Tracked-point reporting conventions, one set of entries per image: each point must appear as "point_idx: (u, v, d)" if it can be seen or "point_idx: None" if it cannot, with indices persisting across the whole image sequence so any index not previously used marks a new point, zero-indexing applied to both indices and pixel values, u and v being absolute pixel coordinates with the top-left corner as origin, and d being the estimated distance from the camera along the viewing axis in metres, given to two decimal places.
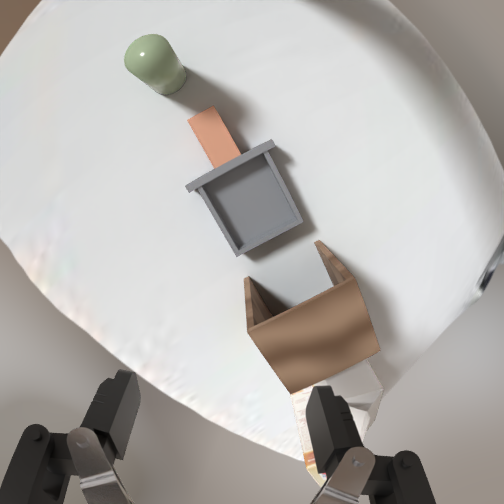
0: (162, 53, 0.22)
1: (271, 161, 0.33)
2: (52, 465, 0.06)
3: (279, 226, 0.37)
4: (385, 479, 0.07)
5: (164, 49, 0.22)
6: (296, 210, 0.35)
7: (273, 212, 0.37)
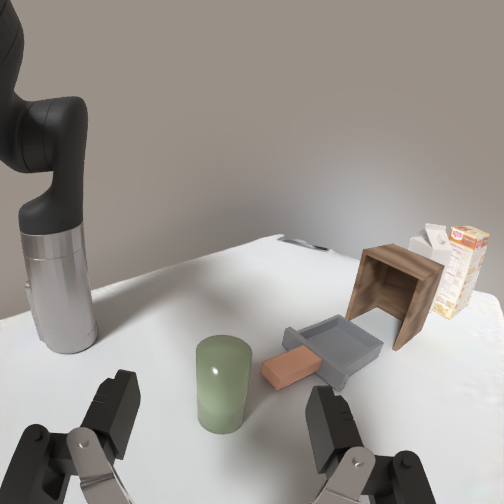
0: (226, 340, 0.26)
1: (303, 329, 0.41)
2: (52, 465, 0.06)
3: (347, 329, 0.43)
4: (385, 479, 0.07)
5: (221, 338, 0.26)
6: (333, 317, 0.45)
7: (339, 336, 0.43)
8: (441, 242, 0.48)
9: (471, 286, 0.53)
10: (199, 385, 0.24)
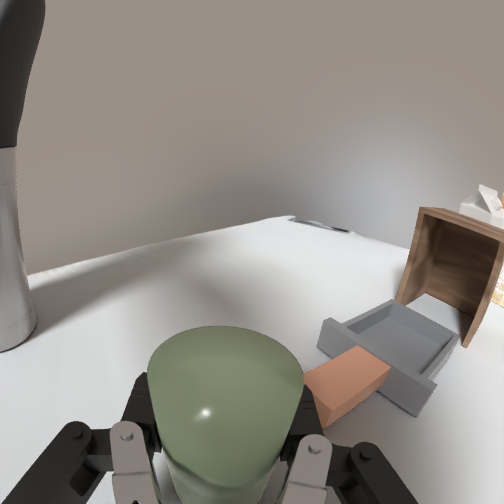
0: (229, 338, 0.10)
1: (350, 321, 0.25)
2: (87, 463, 0.07)
3: (406, 320, 0.28)
4: (343, 470, 0.07)
5: (217, 335, 0.10)
6: (385, 303, 0.29)
7: (396, 330, 0.27)
8: (498, 208, 0.32)
9: None
10: (164, 448, 0.08)
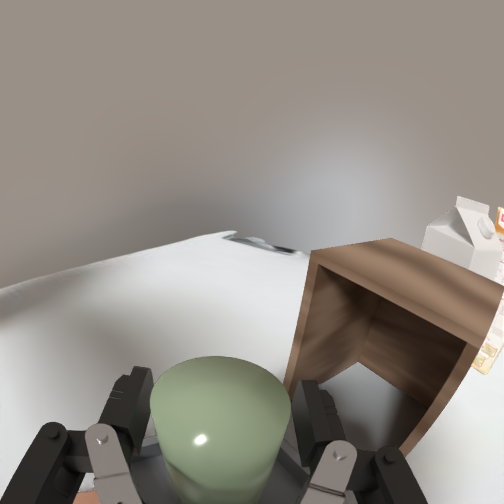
0: (224, 368, 0.11)
1: None
2: (67, 463, 0.06)
3: None
4: (367, 474, 0.07)
5: (212, 365, 0.11)
6: None
7: None
8: (487, 235, 0.21)
9: None
10: (167, 466, 0.09)
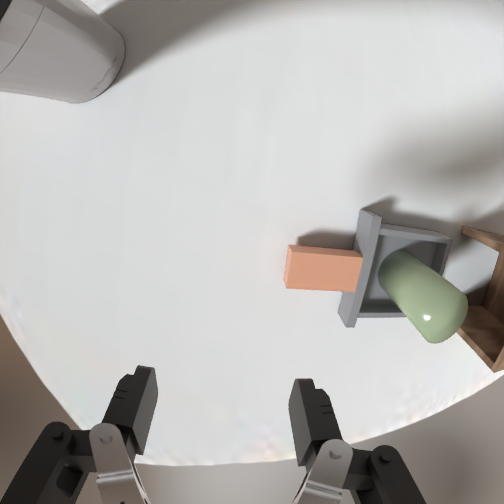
0: (460, 303, 0.19)
1: (390, 232, 0.25)
2: (70, 463, 0.06)
3: (436, 260, 0.28)
4: (363, 473, 0.07)
5: (459, 299, 0.18)
6: (441, 239, 0.25)
7: (421, 256, 0.28)
8: None
9: None
10: (406, 299, 0.22)
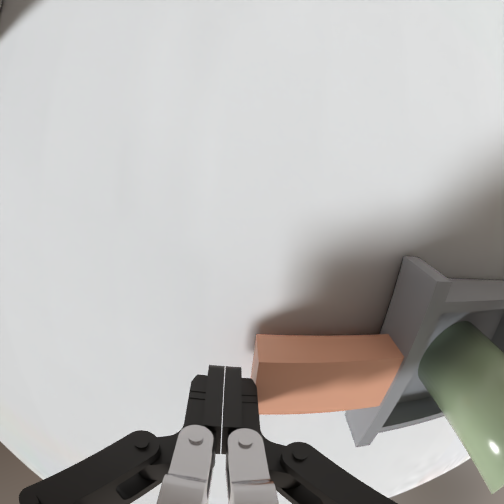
0: None
1: (460, 305, 0.11)
2: (143, 472, 0.07)
3: (503, 328, 0.13)
4: (274, 469, 0.07)
5: None
6: None
7: (486, 324, 0.14)
8: None
9: None
10: (478, 432, 0.08)
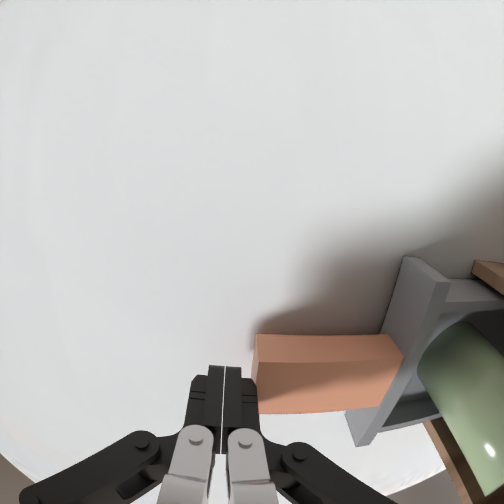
0: None
1: (459, 305, 0.11)
2: (143, 472, 0.07)
3: (502, 328, 0.13)
4: (274, 469, 0.07)
5: None
6: None
7: (485, 324, 0.14)
8: None
9: None
10: (474, 433, 0.08)
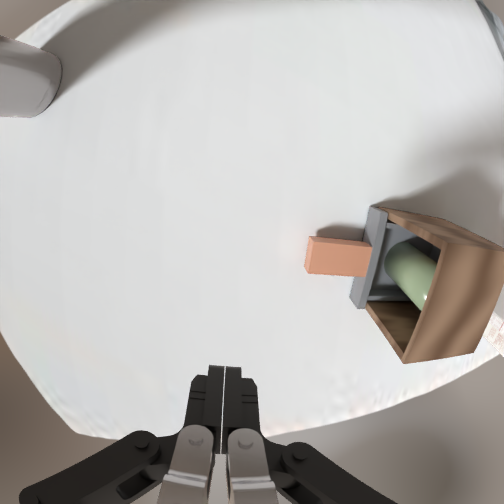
0: None
1: (395, 225, 0.29)
2: (143, 472, 0.07)
3: (434, 251, 0.32)
4: (274, 468, 0.07)
5: None
6: None
7: (421, 247, 0.32)
8: None
9: None
10: (410, 280, 0.26)
